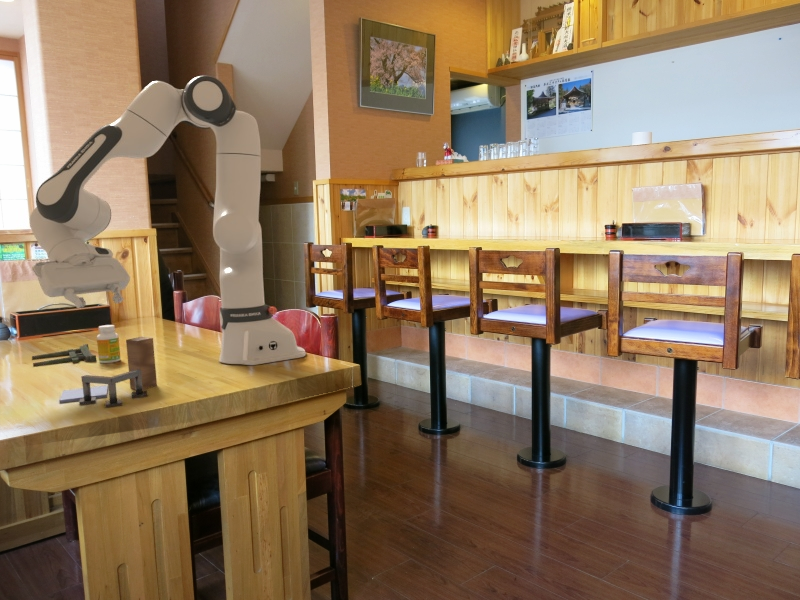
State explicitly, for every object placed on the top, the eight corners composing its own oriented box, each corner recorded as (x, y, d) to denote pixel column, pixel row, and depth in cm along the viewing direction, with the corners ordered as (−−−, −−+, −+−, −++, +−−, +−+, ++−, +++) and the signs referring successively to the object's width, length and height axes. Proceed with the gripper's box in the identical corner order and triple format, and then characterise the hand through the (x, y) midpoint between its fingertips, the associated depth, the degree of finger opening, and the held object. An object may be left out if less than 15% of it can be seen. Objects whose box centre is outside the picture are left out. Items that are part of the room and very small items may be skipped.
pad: (107, 387, 148) (107, 385, 148) (106, 397, 140) (106, 394, 140) (63, 393, 145) (63, 390, 145) (59, 403, 137) (59, 400, 137)
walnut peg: (145, 384, 151) (141, 336, 149) (157, 385, 149) (152, 337, 147) (130, 388, 147) (126, 339, 146) (141, 390, 145) (137, 341, 144)
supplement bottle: (112, 363, 175) (109, 327, 174) (94, 363, 177) (91, 327, 175) (124, 359, 181) (121, 324, 180) (107, 359, 182) (104, 324, 181)
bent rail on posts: (146, 393, 142) (144, 367, 142) (148, 402, 135) (145, 375, 134) (80, 401, 137) (77, 375, 137) (77, 411, 130) (75, 383, 129)
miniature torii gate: (31, 353, 190) (87, 343, 197) (32, 360, 190) (89, 351, 198) (33, 366, 171) (95, 355, 179) (34, 374, 172) (97, 363, 179)
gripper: (33, 253, 145) (62, 299, 141) (116, 249, 163) (144, 290, 158) (24, 273, 148) (52, 318, 144) (107, 266, 165) (134, 307, 161)
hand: (101, 303), depth 151 cm, fingers open, 8 cm apart
